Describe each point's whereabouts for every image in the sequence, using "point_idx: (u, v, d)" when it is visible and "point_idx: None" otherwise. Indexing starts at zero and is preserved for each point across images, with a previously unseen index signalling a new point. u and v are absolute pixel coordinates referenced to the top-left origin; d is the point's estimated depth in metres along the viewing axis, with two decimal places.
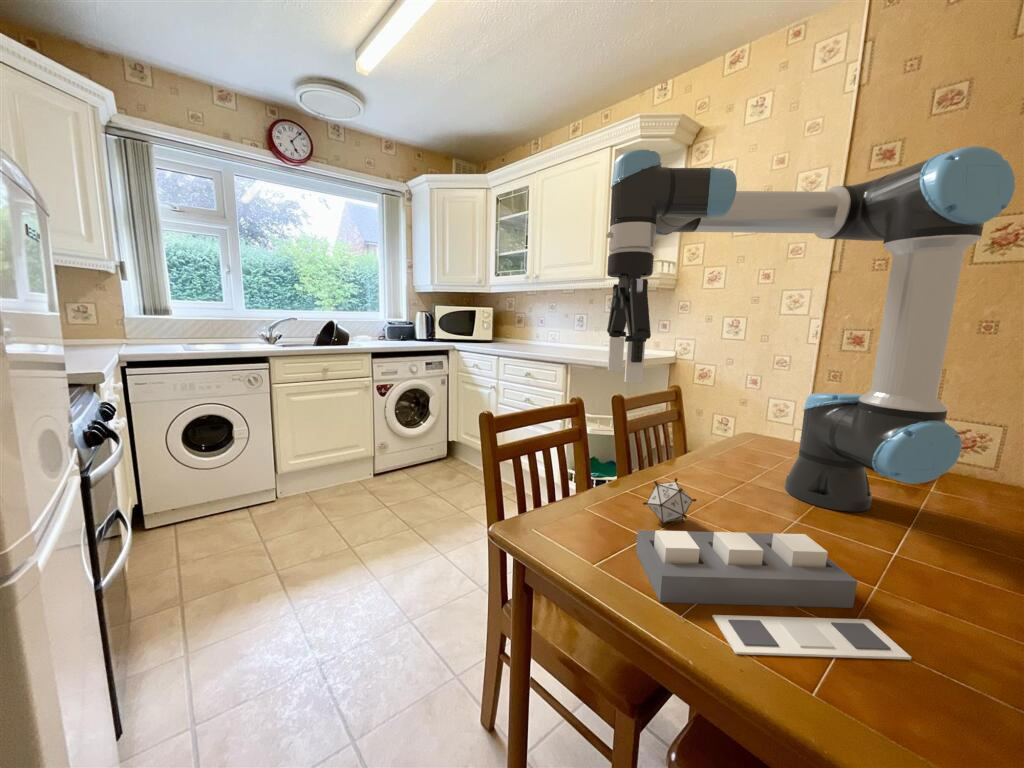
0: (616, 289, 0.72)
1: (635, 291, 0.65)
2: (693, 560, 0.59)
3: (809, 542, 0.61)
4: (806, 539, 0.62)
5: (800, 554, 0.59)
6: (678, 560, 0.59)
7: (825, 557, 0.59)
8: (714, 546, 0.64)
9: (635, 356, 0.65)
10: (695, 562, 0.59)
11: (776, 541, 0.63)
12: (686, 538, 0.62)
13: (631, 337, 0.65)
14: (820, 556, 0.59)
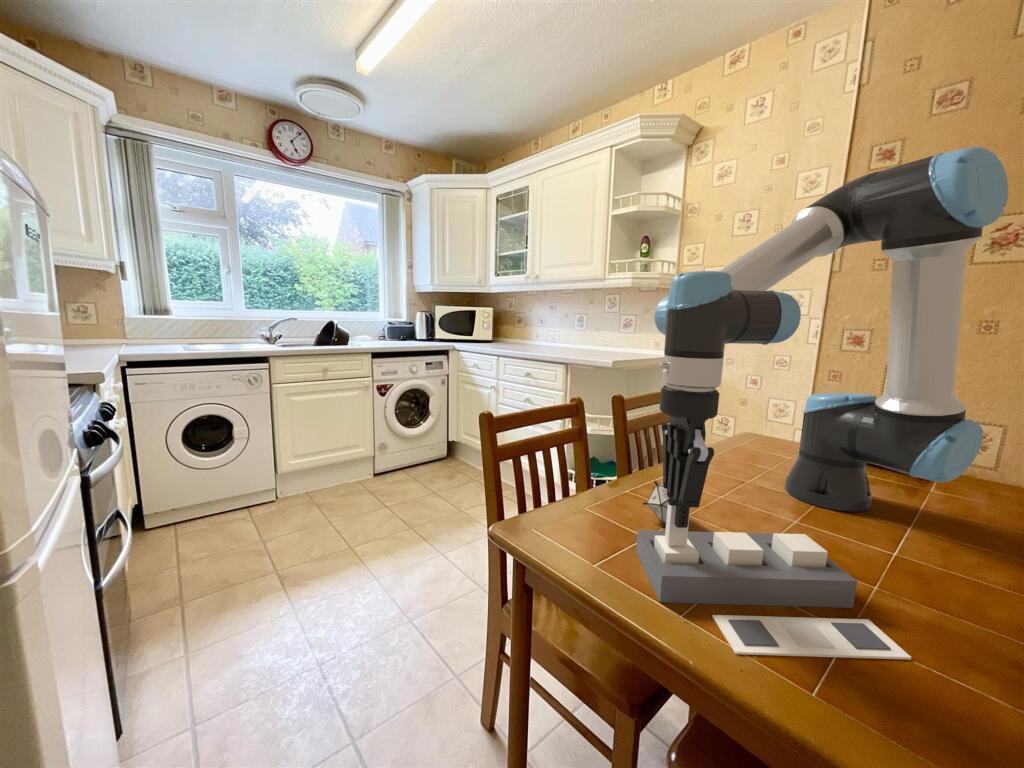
0: (669, 424, 0.60)
1: (695, 462, 0.54)
2: None
3: (809, 542, 0.61)
4: (806, 539, 0.62)
5: (800, 554, 0.59)
6: None
7: (825, 557, 0.59)
8: (714, 546, 0.64)
9: (680, 522, 0.59)
10: None
11: (776, 541, 0.63)
12: None
13: (676, 504, 0.59)
14: (820, 556, 0.59)
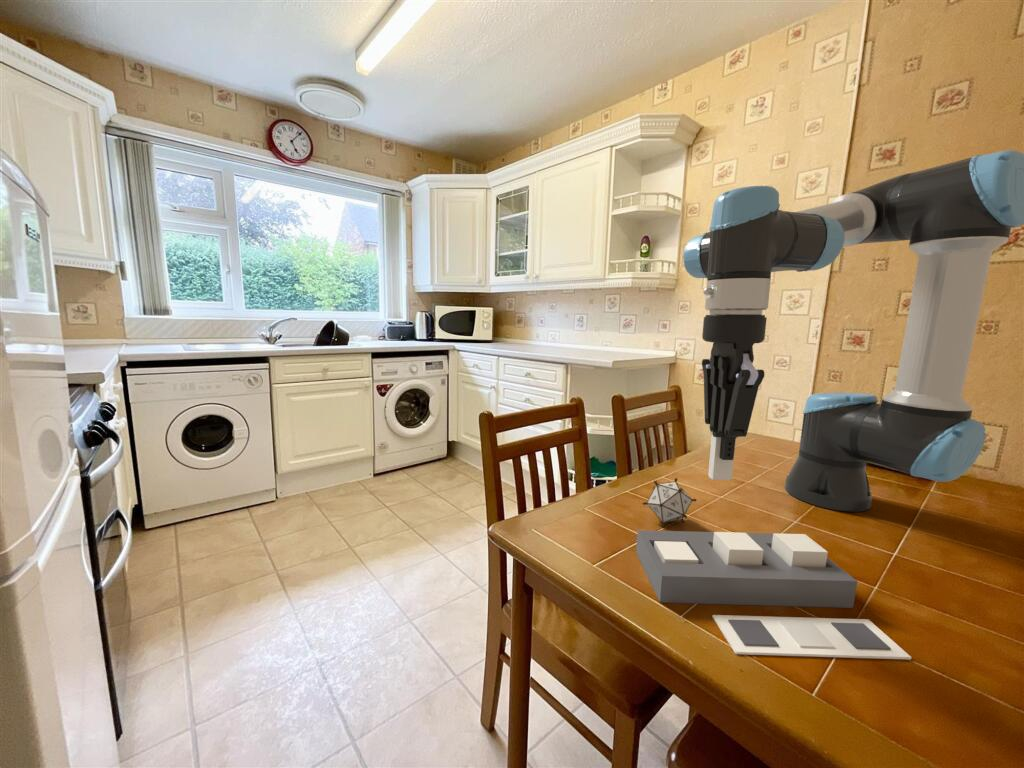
0: (713, 355, 0.58)
1: (744, 386, 0.52)
2: None
3: (809, 542, 0.61)
4: (806, 539, 0.62)
5: (800, 554, 0.59)
6: None
7: (825, 557, 0.59)
8: (714, 546, 0.64)
9: (726, 453, 0.57)
10: None
11: (776, 541, 0.63)
12: (685, 549, 0.62)
13: (721, 435, 0.57)
14: (820, 556, 0.59)
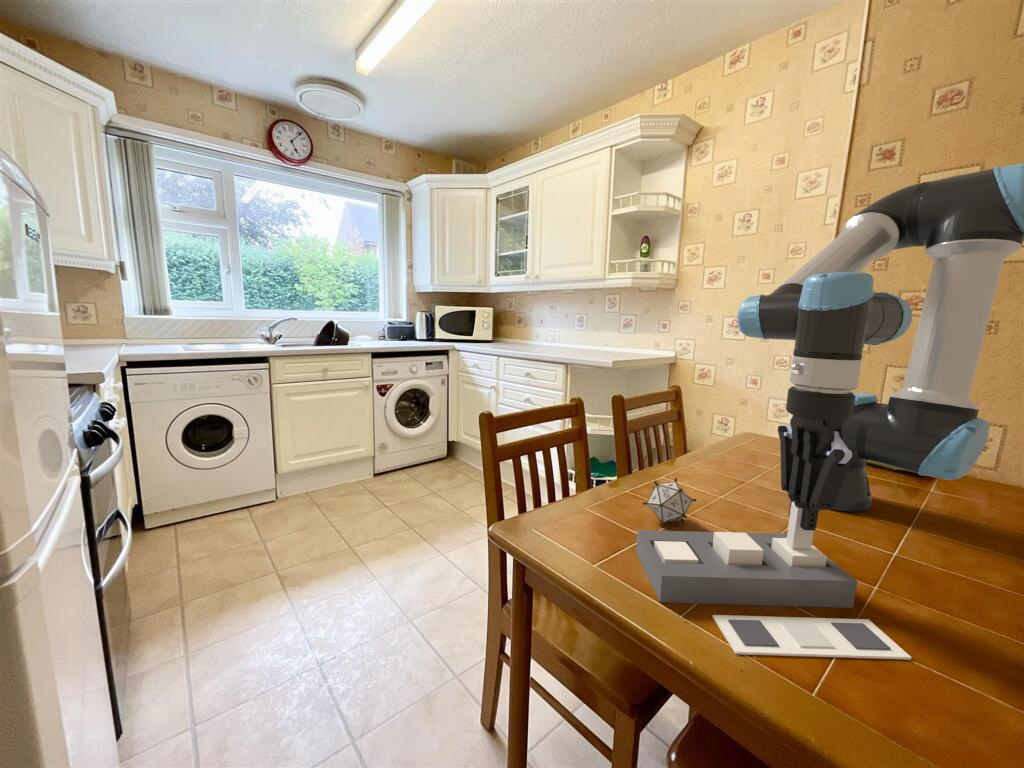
0: (796, 426, 0.59)
1: (836, 464, 0.53)
2: None
3: None
4: None
5: (799, 559, 0.59)
6: None
7: (824, 562, 0.59)
8: (714, 546, 0.64)
9: (808, 524, 0.59)
10: None
11: (775, 545, 0.63)
12: (685, 549, 0.62)
13: (805, 507, 0.58)
14: (819, 561, 0.59)
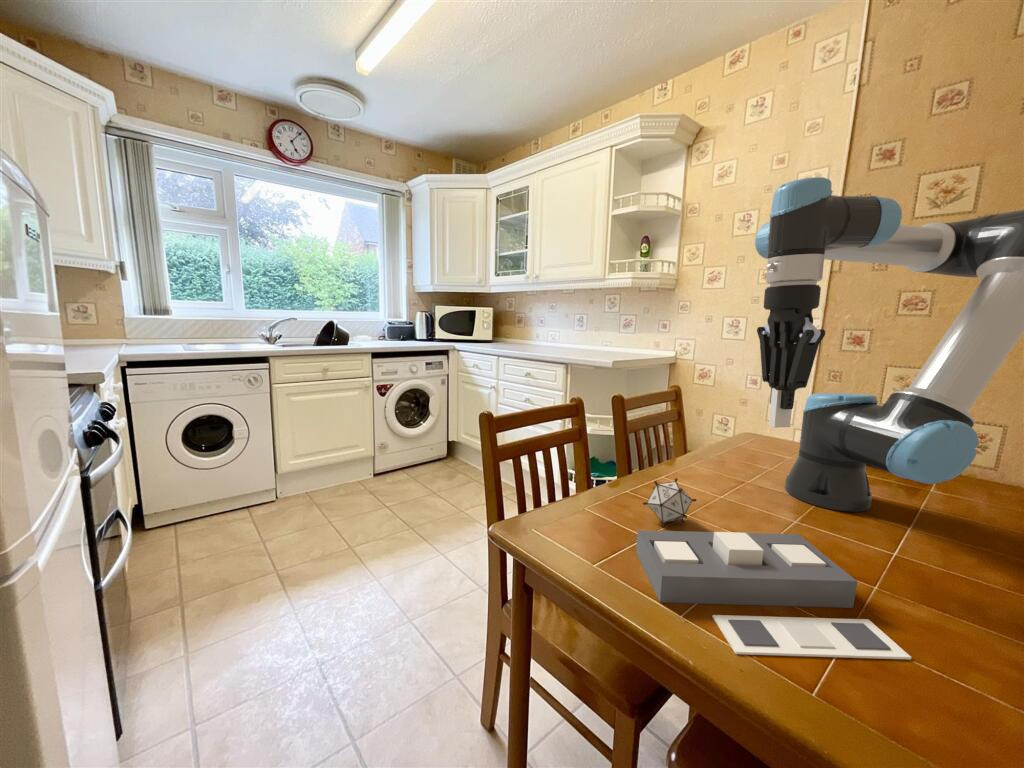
0: (773, 321, 0.69)
1: (807, 343, 0.63)
2: None
3: (808, 553, 0.62)
4: (805, 550, 0.62)
5: (798, 565, 0.59)
6: None
7: None
8: (714, 546, 0.64)
9: (787, 403, 0.68)
10: None
11: None
12: (685, 549, 0.62)
13: (783, 388, 0.68)
14: None
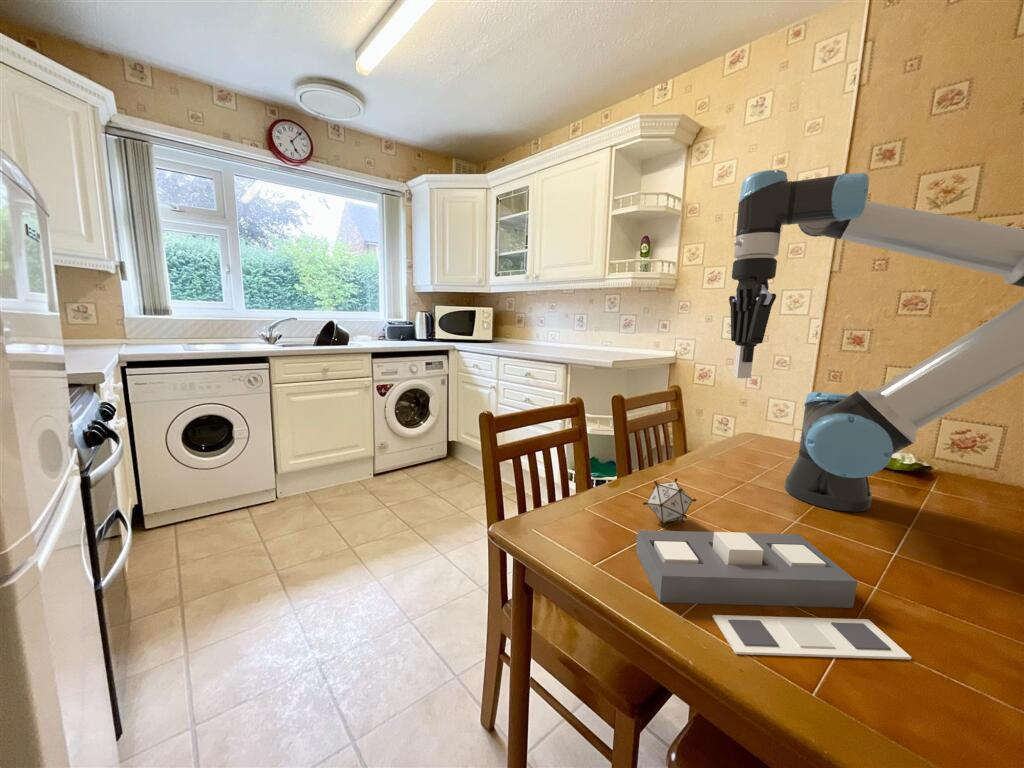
0: (739, 289, 0.83)
1: (762, 305, 0.77)
2: None
3: (808, 553, 0.62)
4: (805, 550, 0.62)
5: (798, 565, 0.59)
6: None
7: None
8: (714, 546, 0.64)
9: (747, 357, 0.83)
10: None
11: None
12: (685, 549, 0.62)
13: (744, 344, 0.82)
14: None
